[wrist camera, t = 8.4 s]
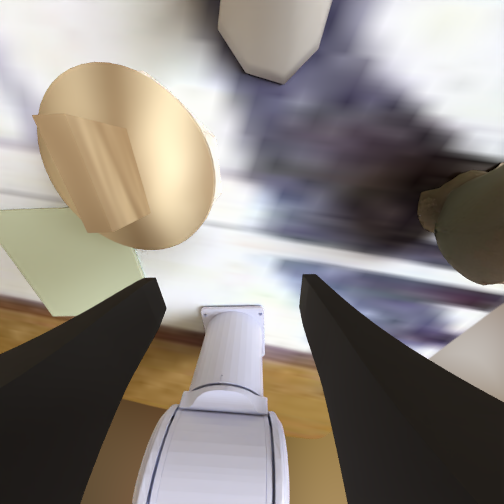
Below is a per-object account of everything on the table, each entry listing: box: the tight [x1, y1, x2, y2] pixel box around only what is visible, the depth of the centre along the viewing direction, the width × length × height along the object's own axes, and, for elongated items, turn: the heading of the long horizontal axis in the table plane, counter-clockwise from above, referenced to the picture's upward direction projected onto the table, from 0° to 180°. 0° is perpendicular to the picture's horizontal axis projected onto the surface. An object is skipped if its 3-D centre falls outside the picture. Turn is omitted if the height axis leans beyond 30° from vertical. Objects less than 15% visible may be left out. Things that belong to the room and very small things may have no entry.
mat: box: [0, 207, 145, 316], centre depth 21 cm, size 14×14×1 cm
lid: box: [32, 62, 216, 250], centre depth 11 cm, size 11×11×5 cm
